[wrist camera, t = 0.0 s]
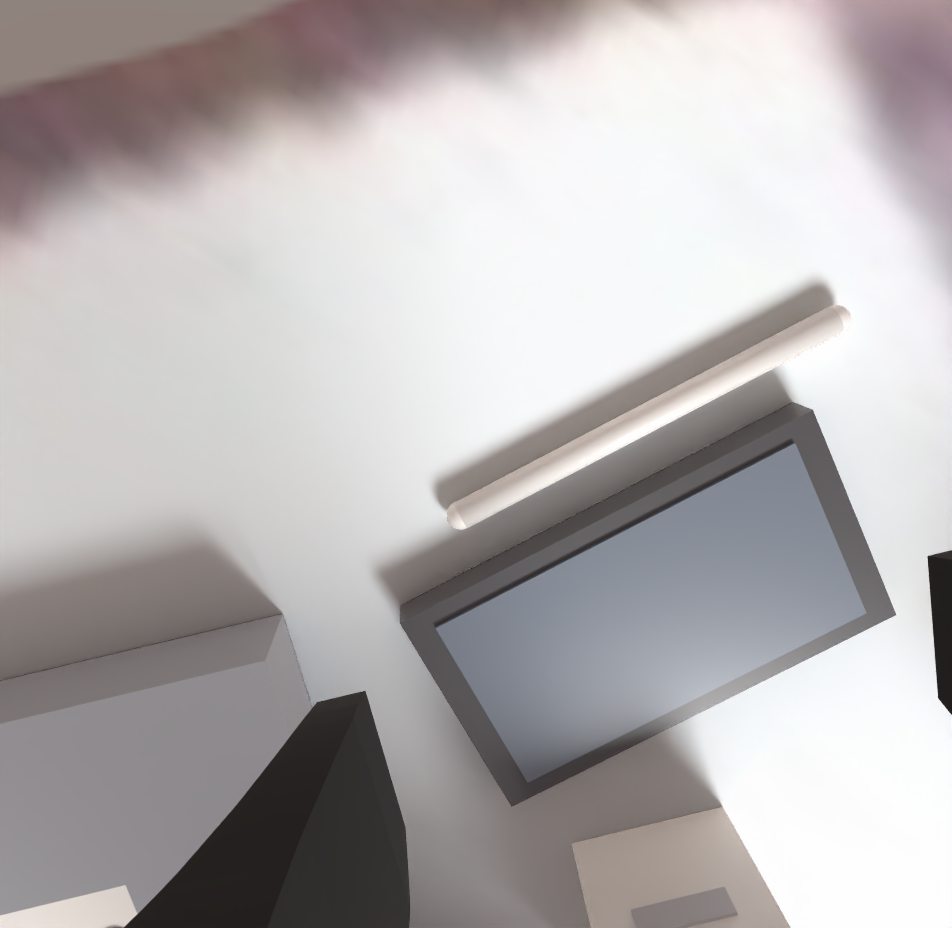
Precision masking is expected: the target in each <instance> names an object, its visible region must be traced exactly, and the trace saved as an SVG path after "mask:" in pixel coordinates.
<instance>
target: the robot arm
mask: <svg viewBox="0 0 952 928" xmlns="http://www.w3.org/2000/svg"><path fill="white" fill-rule="evenodd" d="M928 568H929V582H930V595H931V608H932V622H933V635H934V648H935V661H936V675H937V688H938V699H939V700H940V701H941V702H942V703H943V705H944V706H945V707H946V708H947V710H948V711H949V712H950V713H951V714H952V550H951V551H947V552H943V553H939V554H934V555H930V556H928ZM409 920H410V895H409V876H408V860H407V845H406V830H405V825H404V821H403V818H402V815H401V811H400V808H399V804H398V801H397V797H396V794H395V791H394V787H393V784H392V780H391V777H390V773H389V770H388V767H387V763H386V760H385V756H384V753H383V750H382V746H381V743H380V739H379V736H378V732H377V729H376V726H375V722H374V719H373V715H372V712H371V709H370V705H369V702H368V698H367V695H366V691H363V692H358V693H354V694H350V695H346V696H342V697H337V698H333V699H329V700H325V701H321V702H317V703H316V705H315V706H314V707H313V708H312V709H311V710H310V711H309V713H308V714H307V715H306V716H305V718H304V719H303V720H302V721H301V723H300V724H299V725H298V727H297V728H296V729H295V731H294V732H293V733H292V734H291V736H290V737H289V738H288V740H287V741H286V742H285V744H284V745H283V746H282V748H281V749H280V750H279V751H278V753H277V754H276V755H275V757H274V758H273V759H272V761H271V762H270V763H269V764H268V766H267V767H266V768H265V769H264V771H263V772H262V773H261V775H260V776H259V777H258V778H257V780H256V781H255V782H254V783H253V785H252V786H251V787H250V788H249V790H248V791H247V792H246V794H245V795H244V796H243V797H242V799H241V800H240V801H239V802H238V804H237V805H236V806H235V807H234V808H233V810H232V811H231V812H230V813H229V814H228V815H227V816H226V818H225V819H224V820H223V821H222V822H221V823H220V825H219V826H218V827H217V828H216V829H215V830H214V831H213V833H212V834H211V835H210V836H209V837H208V838H207V839H206V841H205V842H204V843H203V844H202V845H201V846H200V847H199V849H198V850H197V851H196V852H195V853H194V854H193V856H192V857H191V858H190V859H189V860H188V861H187V862H186V864H185V865H184V866H183V867H182V868H181V869H180V870H179V872H178V873H177V874H176V875H175V876H174V877H173V878H172V879H171V880H170V881H169V882H168V883H167V884H166V885H165V886H164V888H163V889H162V890H161V891H160V892H159V893H158V894H157V895H156V896H155V897H154V898H153V899H152V900H151V901H150V902H149V903H148V904H147V905H146V906H145V907H144V908H143V909H142V910H141V911H140V912H139V913H138V914H137V915H136V916H135V917H134V918H133V919H132V920H131V921H130V922H129V923H128V924H127V925H126V926H125V927H124V928H409Z"/></svg>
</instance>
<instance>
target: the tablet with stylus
mask: <svg viewBox="0 0 952 928" xmlns="http://www.w3.org/2000/svg"><path fill="white" fill-rule="evenodd" d="M850 322H851V316H850V313H849V311H848V310H847V309H846V308H845V307H843V306H840V305H832V306H829V307H827V308H825V309H823V310H821V311H819V312H817V313H815V314H813V315H811V316H809V317H807V318H806V319H804V320H802V321H800V322H798V323H796V324H794V325H792V326H790V327H788V328H786V329H785V330H783V331H781V332H779V333H777V334H775V335H773V336H771V337H769V338H767V339H765V340H764V341H762V342H760V343H758V344H756V345H754V346H752V347H750V348H748V349H746V350H744V351H743V352H741V353H739V354H737V355H735V356H733V357H731V358H729V359H727V360H725V361H723V362H722V363H720V364H718V365H716V366H714V367H712V368H710V369H708V370H706V371H704V372H702V373H701V374H699V375H697V376H695V377H693V378H691V379H689V380H687V381H685V382H683V383H681V384H680V385H678V386H676V387H674V388H672V389H670V390H668V391H666V392H664V393H662V394H660V395H659V396H657V397H655V398H653V399H651V400H649V401H647V402H645V403H643V404H641V405H639V406H637V407H636V408H634V409H632V410H630V411H628V412H626V413H624V414H622V415H620V416H618V417H616V418H615V419H613V420H611V421H609V422H607V423H605V424H603V425H601V426H599V427H597V428H595V429H594V430H592V431H590V432H588V433H586V434H584V435H582V436H580V437H578V438H576V439H574V440H573V441H571V442H569V443H567V444H565V445H563V446H561V447H559V448H557V449H555V450H553V451H552V452H550V453H548V454H546V455H544V456H542V457H540V458H538V459H536V460H534V461H532V462H531V463H529V464H527V465H525V466H523V467H521V468H519V469H517V470H515V471H513V472H511V473H510V474H508V475H506V476H504V477H502V478H500V479H498V480H496V481H494V482H492V483H490V484H489V485H487V486H485V487H483V488H481V489H479V490H477V491H475V492H473V493H471V494H469V495H468V496H466V497H464V498H462V499H460V500H458V501H456V502H454V503H453V504H451V505H450V507H449V508H448V510H447V521H448V523H449V524H450V525H451V526H452V527H453V528H455V529H459V530H463V529H466V528H469V527H470V526H472V525H474V524H476V523H478V522H480V521H482V520H484V519H486V518H488V517H490V516H492V515H494V514H495V513H497V512H499V511H501V510H503V509H505V508H507V507H509V506H511V505H513V504H515V503H517V502H518V501H520V500H522V499H524V498H526V497H528V496H530V495H532V494H534V493H536V492H538V491H540V490H541V489H543V488H545V487H547V486H549V485H551V484H553V483H555V482H557V481H559V480H561V479H563V478H564V477H566V476H568V475H570V474H572V473H574V472H576V471H578V470H580V469H582V468H584V467H586V466H588V465H589V464H591V463H593V462H595V461H597V460H599V459H601V458H603V457H605V456H607V455H609V454H611V453H612V452H614V451H616V450H618V449H620V448H622V447H624V446H626V445H628V444H630V443H632V442H634V441H635V440H637V439H639V438H641V437H643V436H645V435H647V434H649V433H651V432H653V431H655V430H657V429H659V428H660V427H662V426H664V425H666V424H668V423H670V422H672V421H674V420H676V419H678V418H680V417H682V416H683V415H685V414H687V413H689V412H691V411H693V410H695V409H697V408H699V407H701V406H703V405H705V404H706V403H708V402H710V401H712V400H714V399H716V398H718V397H720V396H722V395H724V394H726V393H728V392H729V391H731V390H733V389H735V388H737V387H739V386H741V385H743V384H745V383H747V382H749V381H751V380H753V379H754V378H756V377H758V376H760V375H762V374H764V373H766V372H768V371H770V370H772V369H774V368H776V367H777V366H779V365H781V364H783V363H785V362H787V361H789V360H791V359H793V358H795V357H797V356H799V355H800V354H802V353H804V352H806V351H808V350H810V349H812V348H814V347H816V346H818V345H820V344H822V343H824V342H825V341H827V340H829V339H831V338H833V337H835V336H837V335H839V334H841V333H843V332H844V331H845V330H846V329H847V328H848V327H849V325H850ZM895 615H896V613H895V611H894V608H893V606H892V603H891V601H890V598H889V596H888V594H887V591H886V589H885V586H884V584H883V581H882V579H881V576H880V574H879V571H878V569H877V567H876V564H875V562H874V559H873V557H872V554H871V552H870V549H869V547H868V544H867V542H866V540H865V537H864V535H863V532H862V530H861V527H860V525H859V522H858V520H857V517H856V515H855V513H854V510H853V508H852V505H851V503H850V500H849V498H848V495H847V493H846V490H845V488H844V486H843V483H842V481H841V478H840V476H839V473H838V471H837V468H836V466H835V463H834V461H833V459H832V456H831V454H830V451H829V449H828V446H827V444H826V441H825V439H824V436H823V434H822V432H821V429H820V427H819V424H818V422H817V419H816V417H815V414H814V412H813V410H812V409H809V408H807V407H804V406H801V405H799V404H796V403H794V402H793V403H791V404H789V405H787V406H785V407H783V408H781V409H779V410H777V411H775V412H773V413H772V414H770V415H768V416H766V417H764V418H762V419H760V420H758V421H756V422H754V423H752V424H750V425H748V426H746V427H745V428H743V429H741V430H739V431H737V432H735V433H733V434H731V435H729V436H727V437H725V438H723V439H721V440H719V441H717V442H716V443H714V444H712V445H710V446H708V447H706V448H704V449H702V450H700V451H698V452H696V453H694V454H692V455H690V456H689V457H687V458H685V459H683V460H681V461H679V462H677V463H675V464H673V465H671V466H669V467H667V468H665V469H663V470H661V471H660V472H658V473H656V474H654V475H652V476H650V477H648V478H646V479H644V480H642V481H640V482H638V483H636V484H634V485H633V486H631V487H629V488H627V489H625V490H623V491H621V492H619V493H617V494H615V495H613V496H611V497H609V498H607V499H606V500H604V501H602V502H600V503H598V504H596V505H594V506H592V507H590V508H588V509H586V510H584V511H582V512H580V513H578V514H577V515H575V516H573V517H571V518H569V519H567V520H565V521H563V522H561V523H559V524H557V525H555V526H553V527H551V528H550V529H548V530H546V531H544V532H542V533H540V534H538V535H536V536H534V537H532V538H530V539H528V540H526V541H524V542H523V543H521V544H519V545H517V546H515V547H513V548H511V549H509V550H507V551H505V552H503V553H501V554H499V555H497V556H495V557H494V558H492V559H490V560H488V561H486V562H484V563H482V564H480V565H478V566H476V567H474V568H472V569H470V570H468V571H467V572H465V573H463V574H461V575H459V576H457V577H455V578H453V579H451V580H449V581H447V582H445V583H443V584H441V585H440V586H438V587H436V588H434V589H432V590H430V591H428V592H426V593H424V594H422V595H420V596H418V597H416V598H414V599H412V600H411V601H409V602H407V603H405V604H403V605H401V609H400V624H401V626H402V627H403V629H404V631H405V632H406V634H407V635H408V637H409V639H410V640H411V642H412V644H413V645H414V647H415V649H416V650H417V652H418V654H419V655H420V657H421V658H422V660H423V662H424V663H425V665H426V667H427V668H428V670H429V672H430V673H431V675H432V677H433V678H434V680H435V681H436V683H437V685H438V686H439V688H440V690H441V691H442V693H443V695H444V696H445V698H446V700H447V701H448V703H449V704H450V706H451V708H452V709H453V711H454V713H455V714H456V716H457V718H458V719H459V721H460V722H461V724H462V726H463V727H464V729H465V731H466V732H467V734H468V736H469V737H470V739H471V741H472V742H473V744H474V745H475V747H476V749H477V750H478V752H479V754H480V755H481V757H482V759H483V760H484V762H485V764H486V765H487V767H488V768H489V770H490V772H491V773H492V775H493V777H494V778H495V780H496V782H497V783H498V785H499V786H500V788H501V790H502V791H503V793H504V795H505V796H506V798H507V800H508V801H509V803H510V805H511V806H514V805H516V804H518V803H520V802H522V801H524V800H526V799H528V798H530V797H532V796H534V795H536V794H538V793H540V792H542V791H544V790H546V789H548V788H550V787H552V786H554V785H556V784H558V783H560V782H562V781H564V780H566V779H568V778H570V777H572V776H574V775H576V774H578V773H580V772H582V771H584V770H586V769H588V768H590V767H592V766H594V765H596V764H598V763H600V762H602V761H604V760H606V759H608V758H610V757H612V756H614V755H616V754H618V753H620V752H622V751H624V750H626V749H628V748H630V747H632V746H634V745H636V744H638V743H640V742H642V741H644V740H646V739H648V738H650V737H652V736H654V735H656V734H658V733H660V732H662V731H664V730H666V729H668V728H670V727H672V726H674V725H676V724H678V723H680V722H682V721H684V720H686V719H688V718H690V717H692V716H694V715H696V714H698V713H700V712H702V711H704V710H706V709H708V708H710V707H712V706H714V705H716V704H718V703H720V702H722V701H724V700H726V699H728V698H730V697H732V696H734V695H736V694H738V693H741V692H743V691H745V690H747V689H749V688H751V687H753V686H755V685H757V684H759V683H761V682H763V681H765V680H767V679H769V678H771V677H773V676H775V675H777V674H779V673H781V672H783V671H785V670H787V669H789V668H791V667H793V666H795V665H797V664H799V663H801V662H803V661H805V660H807V659H809V658H811V657H813V656H815V655H817V654H819V653H821V652H823V651H825V650H827V649H829V648H831V647H833V646H835V645H837V644H839V643H841V642H843V641H845V640H847V639H849V638H851V637H853V636H855V635H857V634H859V633H861V632H863V631H865V630H867V629H869V628H871V627H873V626H875V625H877V624H879V623H881V622H883V621H885V620H887V619H889V618H891V617H893V616H895Z"/></svg>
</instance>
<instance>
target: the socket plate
mask: <svg viewBox="0 0 952 928" xmlns="http://www.w3.org/2000/svg"><path fill="white" fill-rule="evenodd" d="M311 709H312V706H311V702H310V699H309V696H308V693H307V690H306V687H305V683H304V680H303V677H302V674H301V671H300V667H299V664H298V661H297V658H296V655H295V652H294V648H293V645H292V642H291V639H290V636H289V633H288V629H287V626H286V623H285V620H284V617H283V614H280V615H276V616H271V617H267V618H263V619H259V620H254V621H250V622H246V623H242V624H238V625H233V626H229V627H225V628H221V629H217V630H212V631H208V632H204V633H200V634H196V635H191V636H187V637H183V638H179V639H175V640H170V641H166V642H162V643H158V644H153V645H149V646H145V647H141V648H137V649H132V650H128V651H124V652H120V653H116V654H111V655H107V656H103V657H99V658H95V659H90V660H86V661H82V662H78V663H73V664H69V665H65V666H61V667H57V668H52V669H48V670H44V671H40V672H36V673H31V674H27V675H23V676H19V677H15V678H10V679H6V680H2V681H0V928H124V927H125V926H126V925H127V924H128V923H129V922H130V921H131V920H132V919H133V918H134V917H135V916H136V915H137V914H138V913H139V912H140V911H141V910H142V909H143V908H144V907H145V906H146V905H147V904H148V903H149V902H150V901H151V900H152V899H153V898H154V897H155V896H156V895H157V894H158V893H159V892H160V891H161V890H162V889H163V888H164V886H165V885H166V884H167V883H168V882H169V881H170V880H171V879H172V878H173V877H174V876H175V875H176V874H177V873H178V872H179V870H180V869H181V868H182V867H183V866H184V865H185V864H186V862H187V861H188V860H189V859H190V858H191V857H192V856H193V854H194V853H195V852H196V851H197V850H198V849H199V847H200V846H201V845H202V844H203V843H204V842H205V841H206V839H207V838H208V837H209V836H210V835H211V834H212V833H213V831H214V830H215V829H216V828H217V827H218V826H219V825H220V823H221V822H222V821H223V820H224V819H225V818H226V816H227V815H228V814H229V813H230V812H231V811H232V810H233V808H234V807H235V806H236V805H237V804H238V802H239V801H240V800H241V799H242V797H243V796H244V795H245V794H246V792H247V791H248V790H249V788H250V787H251V786H252V785H253V783H254V782H255V781H256V780H257V778H258V777H259V776H260V775H261V773H262V772H263V771H264V769H265V768H266V767H267V766H268V764H269V763H270V762H271V761H272V759H273V758H274V757H275V755H276V754H277V753H278V751H279V750H280V749H281V748H282V746H283V745H284V744H285V742H286V741H287V740H288V738H289V737H290V736H291V734H292V733H293V732H294V731H295V729H296V728H297V727H298V725H299V724H300V723H301V721H302V720H303V719H304V718H305V716H306V715H307V714H308V713H309V711H310V710H311Z"/></svg>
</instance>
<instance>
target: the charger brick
mask: <svg viewBox="0 0 952 928" xmlns="http://www.w3.org/2000/svg"><path fill="white" fill-rule="evenodd" d="M571 844H572V848H573V852H574V857H575V861H576V865H577V870H578V874H579V879H580V883H581V887H582V892H583V896H584V901H585V905H586V909H587V914H588V918H589V923H590V927H591V928H790V926H789V924H788V922H787V921H786V919H785V917H784V915H783V913H782V912H781V910H780V908H779V906H778V905H777V903H776V901H775V899H774V897H773V896H772V894H771V892H770V890H769V888H768V887H767V885H766V883H765V881H764V880H763V878H762V876H761V874H760V872H759V871H758V869H757V867H756V865H755V864H754V862H753V860H752V858H751V856H750V855H749V853H748V851H747V849H746V847H745V846H744V844H743V842H742V840H741V839H740V837H739V835H738V833H737V831H736V830H735V828H734V826H733V824H732V822H731V821H730V819H729V817H728V815H727V814H726V812H725V810H724V808H723V807H719V808H715V809H711V810H707V811H702V812H698V813H694V814H690V815H686V816H682V817H678V818H674V819H670V820H666V821H661V822H657V823H653V824H649V825H645V826H641V827H637V828H633V829H629V830H625V831H620V832H616V833H612V834H608V835H604V836H600V837H596V838H592V839H588V840H584V841H579V842H575V843H571Z"/></svg>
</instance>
